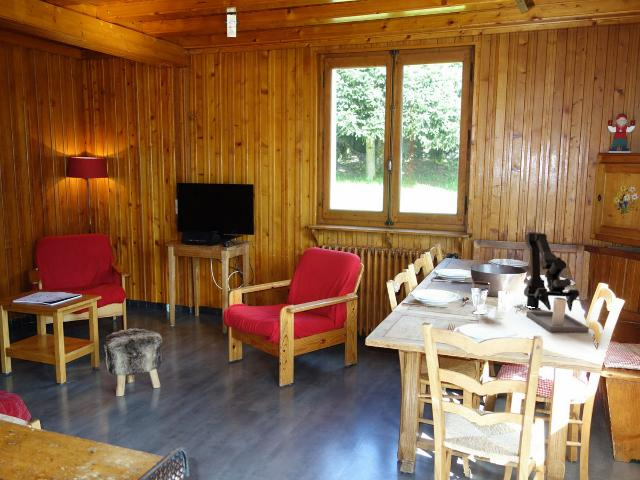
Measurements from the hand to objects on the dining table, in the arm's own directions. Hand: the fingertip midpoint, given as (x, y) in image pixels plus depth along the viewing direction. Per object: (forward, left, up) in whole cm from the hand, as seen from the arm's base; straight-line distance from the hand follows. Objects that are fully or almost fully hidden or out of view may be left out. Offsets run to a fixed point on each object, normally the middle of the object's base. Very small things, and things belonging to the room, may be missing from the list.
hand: (560, 310), depth 258 cm
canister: (-1, 0, -8) cm, 8 cm away
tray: (-7, +3, -9) cm, 12 cm away
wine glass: (-24, -28, -9) cm, 39 cm away
